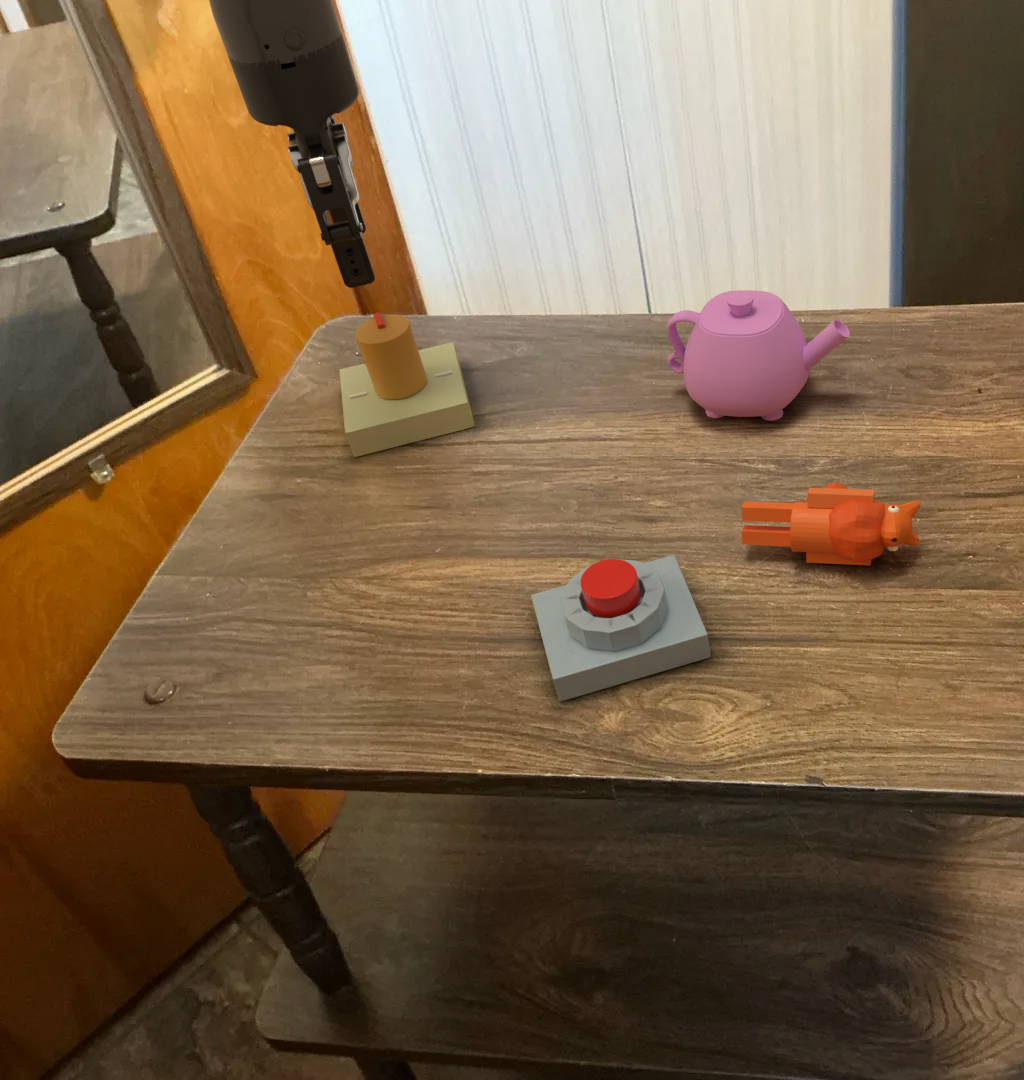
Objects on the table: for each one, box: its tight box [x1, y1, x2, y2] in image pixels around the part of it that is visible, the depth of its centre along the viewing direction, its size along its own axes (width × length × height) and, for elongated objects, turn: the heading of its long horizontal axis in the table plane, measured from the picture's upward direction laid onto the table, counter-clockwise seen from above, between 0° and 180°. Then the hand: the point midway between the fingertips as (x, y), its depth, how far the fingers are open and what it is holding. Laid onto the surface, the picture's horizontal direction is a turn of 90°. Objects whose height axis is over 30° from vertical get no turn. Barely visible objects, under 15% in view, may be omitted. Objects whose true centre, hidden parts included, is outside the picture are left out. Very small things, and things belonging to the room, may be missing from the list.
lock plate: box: [338, 341, 476, 458], centre depth 97 cm, size 10×10×3 cm
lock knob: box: [354, 312, 427, 400], centre depth 94 cm, size 4×4×6 cm
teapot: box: [666, 289, 851, 422], centre depth 91 cm, size 10×15×9 cm
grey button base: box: [530, 554, 712, 702], centre depth 74 cm, size 10×8×4 cm
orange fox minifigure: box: [741, 482, 921, 566], centre depth 78 cm, size 5×8×12 cm
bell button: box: [580, 558, 641, 618], centre depth 72 cm, size 4×4×2 cm
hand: (356, 258), depth 86 cm, fingers open, 8 cm apart
